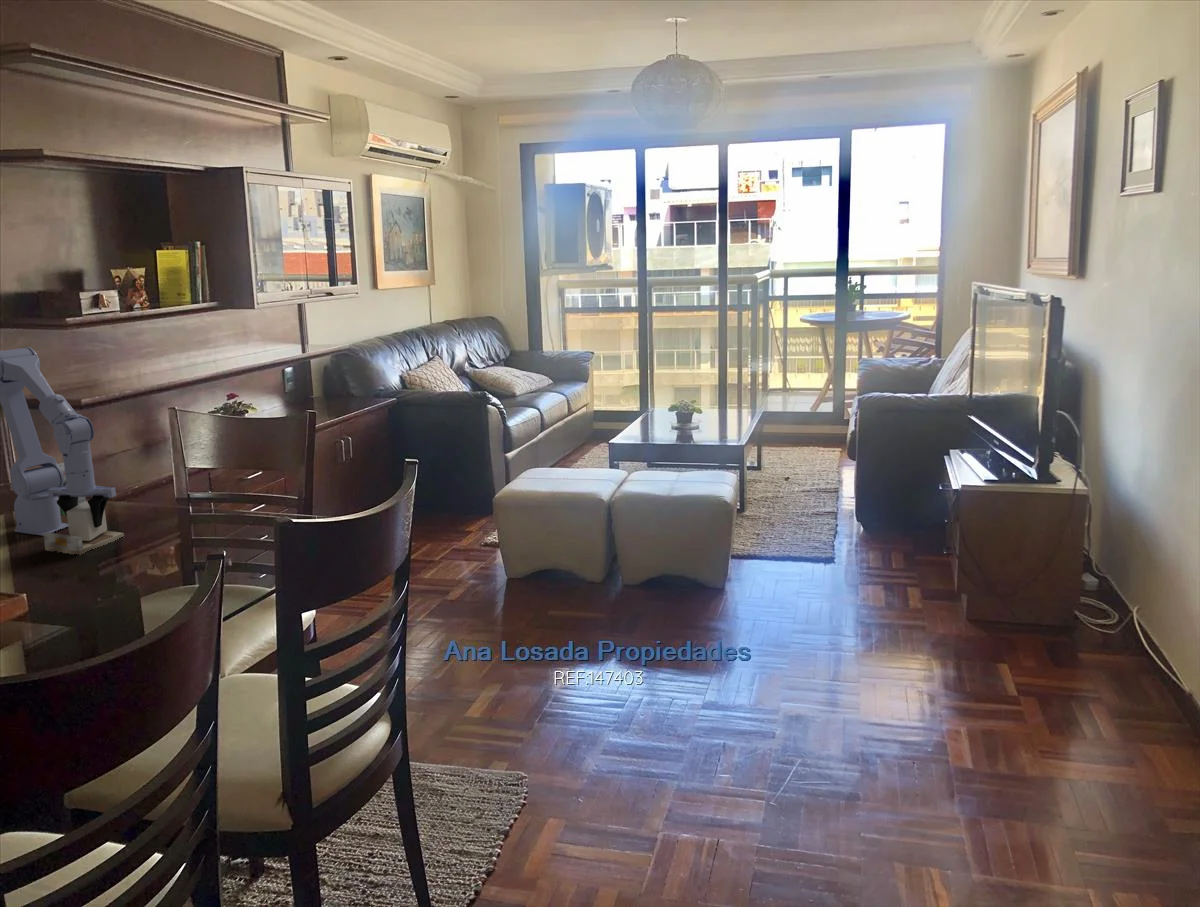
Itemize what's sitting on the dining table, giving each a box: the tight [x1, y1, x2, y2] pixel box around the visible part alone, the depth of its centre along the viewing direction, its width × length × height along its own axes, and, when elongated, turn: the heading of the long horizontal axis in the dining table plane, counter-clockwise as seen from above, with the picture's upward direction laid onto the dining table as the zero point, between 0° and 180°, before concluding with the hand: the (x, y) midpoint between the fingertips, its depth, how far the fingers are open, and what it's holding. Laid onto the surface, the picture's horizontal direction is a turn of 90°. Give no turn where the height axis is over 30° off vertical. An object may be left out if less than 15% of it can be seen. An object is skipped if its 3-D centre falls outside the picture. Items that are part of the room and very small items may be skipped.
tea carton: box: [66, 501, 108, 541], centre depth 220 cm, size 5×8×7 cm, turn 1°
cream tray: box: [43, 530, 125, 556], centre depth 219 cm, size 10×13×4 cm
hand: (86, 526), depth 220 cm, fingers closed on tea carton, 5 cm apart
